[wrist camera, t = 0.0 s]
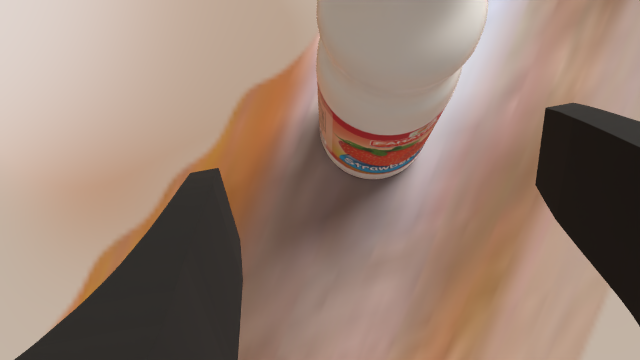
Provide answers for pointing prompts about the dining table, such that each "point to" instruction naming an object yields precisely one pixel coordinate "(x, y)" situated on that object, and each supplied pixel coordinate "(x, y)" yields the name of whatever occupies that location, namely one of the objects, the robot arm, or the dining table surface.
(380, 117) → the fruit juice
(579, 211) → the robot arm
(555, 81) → the dining table surface
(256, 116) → the dining table surface
